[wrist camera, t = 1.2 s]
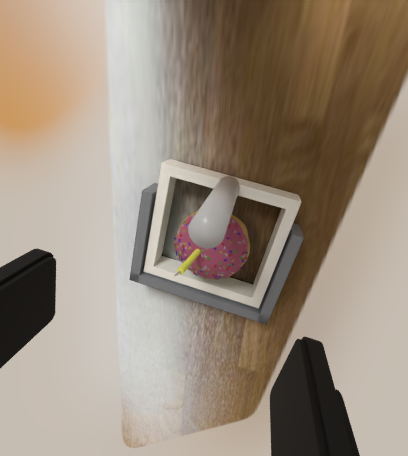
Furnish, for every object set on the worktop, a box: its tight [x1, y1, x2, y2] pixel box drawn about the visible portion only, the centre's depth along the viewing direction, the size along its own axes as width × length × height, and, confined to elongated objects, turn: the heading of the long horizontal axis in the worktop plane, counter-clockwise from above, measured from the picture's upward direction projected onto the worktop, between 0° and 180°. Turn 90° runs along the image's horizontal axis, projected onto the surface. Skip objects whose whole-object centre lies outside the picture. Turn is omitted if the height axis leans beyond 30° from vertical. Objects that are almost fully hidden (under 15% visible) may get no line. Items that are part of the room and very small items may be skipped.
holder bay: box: [130, 183, 304, 325], centre depth 34 cm, size 12×18×4 cm
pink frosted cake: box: [174, 211, 250, 280], centre depth 29 cm, size 9×8×12 cm
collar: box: [144, 159, 301, 308], centre depth 27 cm, size 15×15×16 cm
